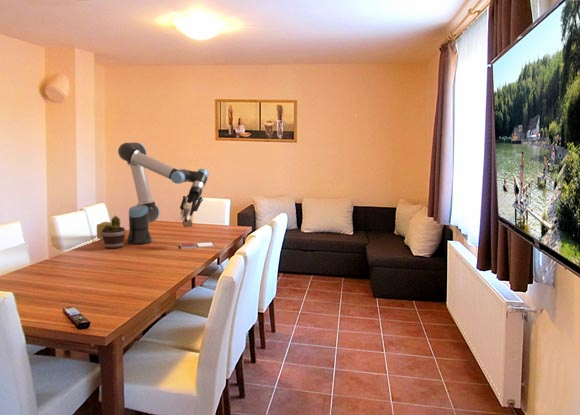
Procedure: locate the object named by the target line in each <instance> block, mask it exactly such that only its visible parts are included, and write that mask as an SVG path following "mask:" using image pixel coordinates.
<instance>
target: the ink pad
mask: <svg viewBox="0 0 580 415" xmlns="http://www.w3.org/2000/svg"><path fill="white" fill-rule="evenodd" d="M195 243H196V242H186V243H185V242H184V243H183V242H182V243H179V247H180V249H182V250H186V249H187V250H188V249H197V246H196V244H195Z"/></svg>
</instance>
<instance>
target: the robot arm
mask: <svg viewBox="0 0 580 415" xmlns="http://www.w3.org/2000/svg"><path fill="white" fill-rule="evenodd" d="M117 151H118V152H117V153H118V154H117V155H118V156H119V158H120V159H121V160H123V161H125V162H126V163H127V166H129V167H130V170H131V174H132V178H133V183H134V186H135V192H136V196H137V201H138V202H137V204H136V205H133V206H131V207H129V210H128V221H129V222H128V223H129V224H128V226H129V227H128V228H129V232H128V235H127V238H126V243H127V244H129V245H132V246H133V245H134V246H135V245H147V244H151V243H152V242H153V239H152V237H151V236H152V235H151V232H150V230H149V223H153V222H155V221H156V220H157V219H158V218H159V216H160V209H159V207H158V206H157V205H156V203H155V202H156V201H155V200H153V199H152V195H151V191H150V190H151V189H150V184H149V181H148V176H147V173H146V169H147V170H149V171H151V172H154V173H156V174H158V175H160V176H162V177H165V178H167V179H169V180H171V181H172V182H173V183H174V184H182V183H186V182H187V183H192V185H191V187H190V189H189V192H188V194H187V195H183V196H182V201H181V204H180V206H179V209H180V210H181V211H180V216H179V219H180V220H181V221H183V220H184V207H183V205H184V203H186V202H188V203H190V204H191V208H190V210H189V212H188V215H187V217H186V219H187V220H188V221H189V219H190V220H191V217H192V216H193V214H194V213H195V212H198V209H199V207H200V205H201V203H202V202H203V201H204V199H203V197H202V196H201V195H202V194H203V191H204V188H205V186H206V183H207V181H208V178H209V174H210V173H209V171H208V170H206V169H205V168H200V169H198V170H197V171H196V170H195V171H193V170H190V169H186V168H185V169H183V168H180V169H177V168H175V167H173V166H170V165H168V164H166V163H164V162H162V161H160V160H157V159H156V158H154V157H151V156H149V155H147V149H146V146H144V145H143V144H142V143H140V142H124V143H122V144H120V146H119V147H118V149H117Z"/></svg>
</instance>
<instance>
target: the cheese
mask: <svg viewBox="0 0 580 415" xmlns="http://www.w3.org/2000/svg"><path fill="white" fill-rule="evenodd" d="M109 224H110V226H111V225H112V221H102V222H101V223H97V224H96V238H97V240H98V239H99V240H104V239H103V236H101V234H100V232H101V231H102V229H104V227H105V226H107V225H109ZM112 226H113V225H112ZM112 226H111V227H112Z"/></svg>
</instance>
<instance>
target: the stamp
mask: <svg viewBox="0 0 580 415" xmlns="http://www.w3.org/2000/svg"><path fill="white" fill-rule="evenodd" d="M183 207H184V218H183V220H182V226H183V228H189V227H193V220H191V218H190V219H189V221H188V220H187V219H186V217H187V215H188V212H189V210H191V207H192V203H188V202H187V201H186V203H184V205H183Z"/></svg>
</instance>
